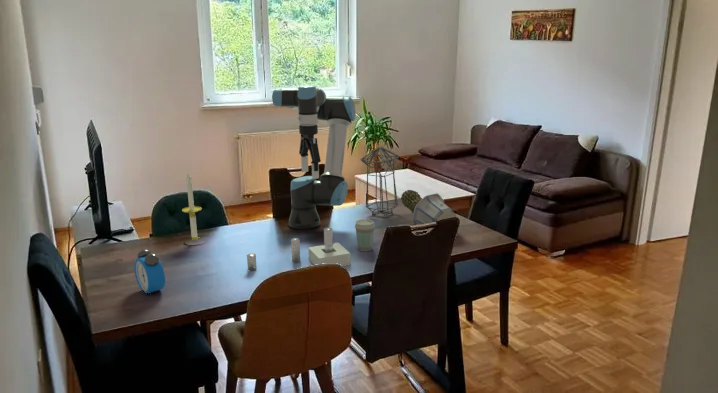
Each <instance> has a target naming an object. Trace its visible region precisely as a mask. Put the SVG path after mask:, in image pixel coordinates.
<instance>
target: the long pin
mask: <svg viewBox="0 0 718 393" xmlns="http://www.w3.org/2000/svg"><path fill="white" fill-rule="evenodd" d="M333 231H334V230H333V228H332V227H325V228H323V243H324V244H323V245H324V247H325V253H330V252H333V243H334V239H333V238H334V237H333V234H334V233H333Z"/></svg>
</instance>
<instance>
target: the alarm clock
mask: <svg viewBox="0 0 718 393" xmlns="http://www.w3.org/2000/svg"><path fill="white" fill-rule="evenodd" d="M133 270H134V276H135V279H136V282H137V284H138V285H137V286H138V287H139V289H140V288H141V289H143V290H145V292H146V293H148V294H149V293H150V294H152V293H154V291H155V292H157V291H160V290H163V289H164V288H165V286H166V274H165V271H164V267H163V265H162V262H161V260H160V258H159V256H158V254H155V253H152V252H151V251H150V250H149V249H146V248H145V249H141V250H139V251H137V253H136V259H135V260H134V264H133ZM141 289H140V290H141ZM151 292H152V293H151Z"/></svg>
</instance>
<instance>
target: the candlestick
mask: <svg viewBox="0 0 718 393" xmlns="http://www.w3.org/2000/svg"><path fill="white" fill-rule="evenodd" d="M185 179H186V180H185V181H186V189H187V198H188V206H186V207H184V208H183V207H182V209H181V212H183V213H185V214H186V213H187V214H188V215H189V223H190V235H191V238H192V240H197V239H198V238H199V237H198V229H197V216H196V213H197V212H200V211H202V209H203V208H202V207H201V206H197V205H195V204H194V202H195V201H194V194H193V192H194V190H193V182H192V176H191V175H190V172H189V171H187V174H186V177H185Z"/></svg>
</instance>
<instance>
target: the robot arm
mask: <svg viewBox="0 0 718 393" xmlns="http://www.w3.org/2000/svg"><path fill="white" fill-rule="evenodd" d="M271 99H272V100H271V101H272V104H273V106H275V107H278V108H279V107H280V108H288V109H291V110H295V111H298V117H297V119H298V124H299V126H298V131H299V135H300V144H299V151H298V153H299V154H298V155H300V157H301V158H300V160H301V172H302V173H306V172H309V154H310V157H311V162H310V164H311V175H306V176H300V177H296V178H293V179H292V180H291V181H290V198H291V199H290V200H291V202H290V203H291V212H290V215H289V219H288V226H289V227H290V228H291V229H297V230H309V229H314V228H316V227H319V226H320V225H321V219H320V215H319V213H318V211H317V207H316V206H330V207H331V206H332V207H334V206H338V207H339V206H342V205H343V204H344V203H345V201H346V198H347V195H348V191H349V190H348V187H349V185H348V182H347V181H345V177H344V176H343V166H344V161H345V160H344V159H345V150H346V143H347V142H346V140H347V131H348V128H350V126H351V125H352V124H351V123H352V122H355V120H356V106H355V101H354V99H353V98H352V97H350V96H344V95H343V96H327V94H326V92H325V91H324V90H323V89H322V88H317V87H316V86H314V85H300V86H299V87H297V88H275V89H273V91H272V95H271ZM318 121H326V123H327V125H328V126H329V127H328V128H329V129H328V136H327V144H326V145H327V146H326V153H325V163H324V171H323V173H322V174H321V175H320V166H319V165H320V164H319V163H321V162H322V160H321V156H320V150H319V145H318V138H317V137H315V135H318V133H319V130H318V127H319V126H318V125H317V124H318ZM308 152H309V154H308ZM317 179H318V180H317Z"/></svg>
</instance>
